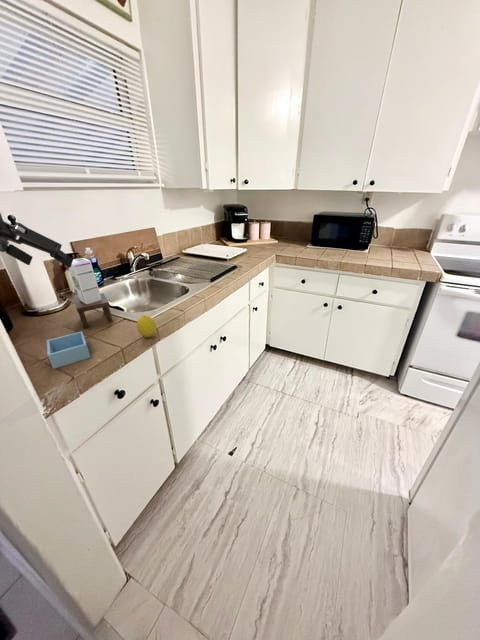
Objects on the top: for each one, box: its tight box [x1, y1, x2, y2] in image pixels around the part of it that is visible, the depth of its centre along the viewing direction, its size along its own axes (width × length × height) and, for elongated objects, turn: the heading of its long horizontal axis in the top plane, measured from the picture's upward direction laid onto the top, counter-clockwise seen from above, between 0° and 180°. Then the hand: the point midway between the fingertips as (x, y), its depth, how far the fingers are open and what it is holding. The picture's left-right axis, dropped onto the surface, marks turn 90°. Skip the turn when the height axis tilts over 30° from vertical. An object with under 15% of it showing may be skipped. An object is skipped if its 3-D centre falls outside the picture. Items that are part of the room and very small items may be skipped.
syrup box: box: [68, 257, 102, 304], centre depth 89 cm, size 6×6×14 cm
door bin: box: [46, 331, 91, 370], centre depth 76 cm, size 9×9×4 cm
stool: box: [73, 292, 114, 330], centre depth 94 cm, size 10×10×8 cm
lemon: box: [136, 314, 156, 338], centre depth 84 cm, size 6×6×8 cm
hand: (50, 262), depth 76 cm, fingers open, 13 cm apart
